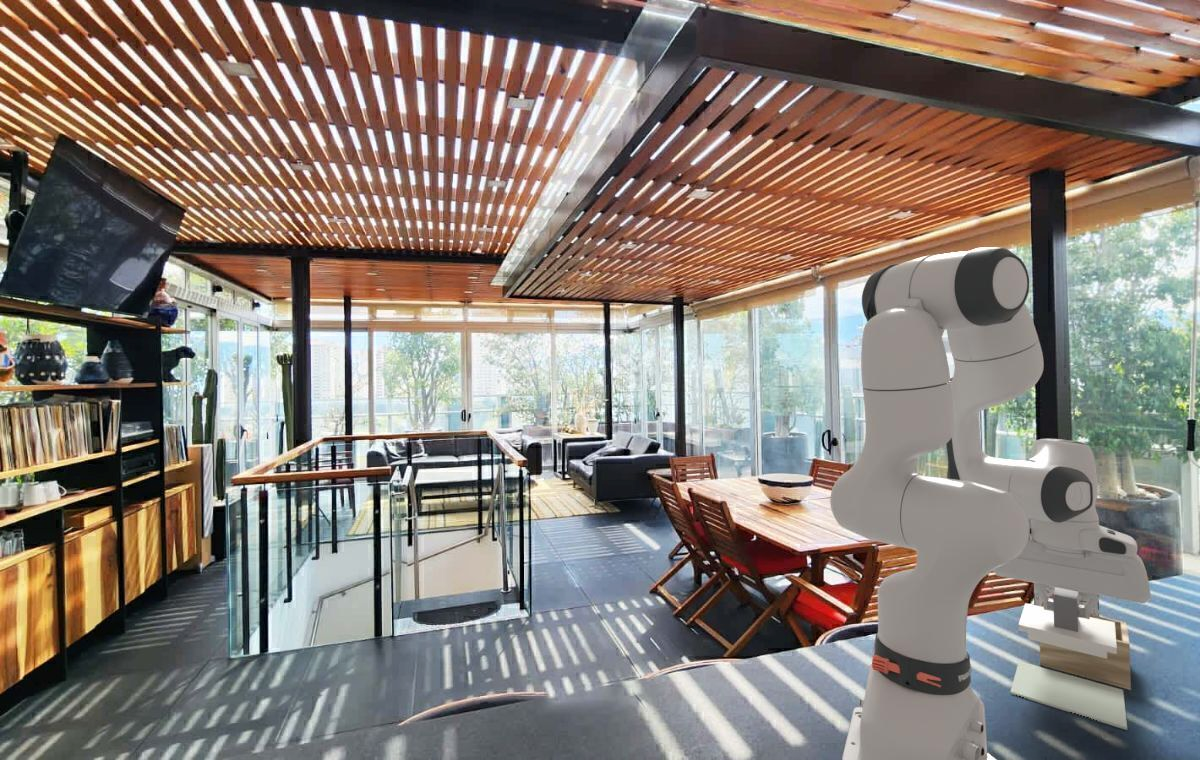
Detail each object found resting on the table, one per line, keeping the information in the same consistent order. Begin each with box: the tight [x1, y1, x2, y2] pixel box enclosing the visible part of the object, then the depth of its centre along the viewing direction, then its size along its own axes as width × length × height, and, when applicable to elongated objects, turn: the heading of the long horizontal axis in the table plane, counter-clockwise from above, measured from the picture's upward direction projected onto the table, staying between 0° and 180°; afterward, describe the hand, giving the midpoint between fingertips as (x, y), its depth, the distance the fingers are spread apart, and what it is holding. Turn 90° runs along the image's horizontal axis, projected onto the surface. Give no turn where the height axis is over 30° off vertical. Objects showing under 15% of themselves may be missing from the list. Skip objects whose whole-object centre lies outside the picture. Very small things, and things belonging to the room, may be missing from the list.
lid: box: [1017, 587, 1117, 659], centre depth 90 cm, size 12×12×8 cm
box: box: [1039, 606, 1132, 691], centre depth 99 cm, size 12×12×8 cm
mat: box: [1010, 660, 1128, 731], centre depth 89 cm, size 14×14×1 cm
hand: (1066, 613), depth 89 cm, fingers closed on lid, 3 cm apart
